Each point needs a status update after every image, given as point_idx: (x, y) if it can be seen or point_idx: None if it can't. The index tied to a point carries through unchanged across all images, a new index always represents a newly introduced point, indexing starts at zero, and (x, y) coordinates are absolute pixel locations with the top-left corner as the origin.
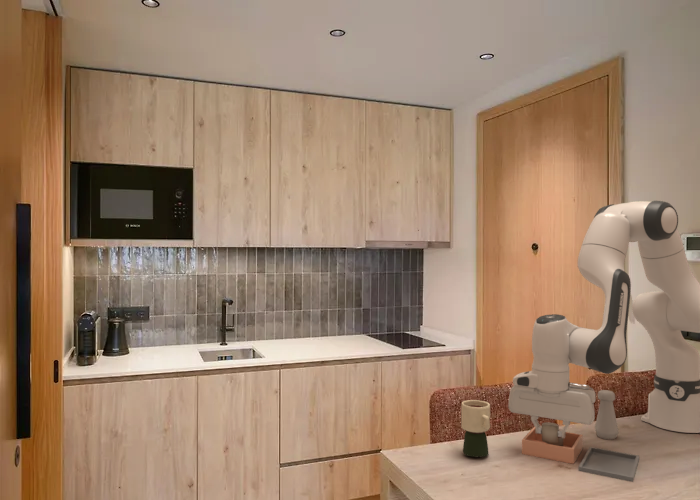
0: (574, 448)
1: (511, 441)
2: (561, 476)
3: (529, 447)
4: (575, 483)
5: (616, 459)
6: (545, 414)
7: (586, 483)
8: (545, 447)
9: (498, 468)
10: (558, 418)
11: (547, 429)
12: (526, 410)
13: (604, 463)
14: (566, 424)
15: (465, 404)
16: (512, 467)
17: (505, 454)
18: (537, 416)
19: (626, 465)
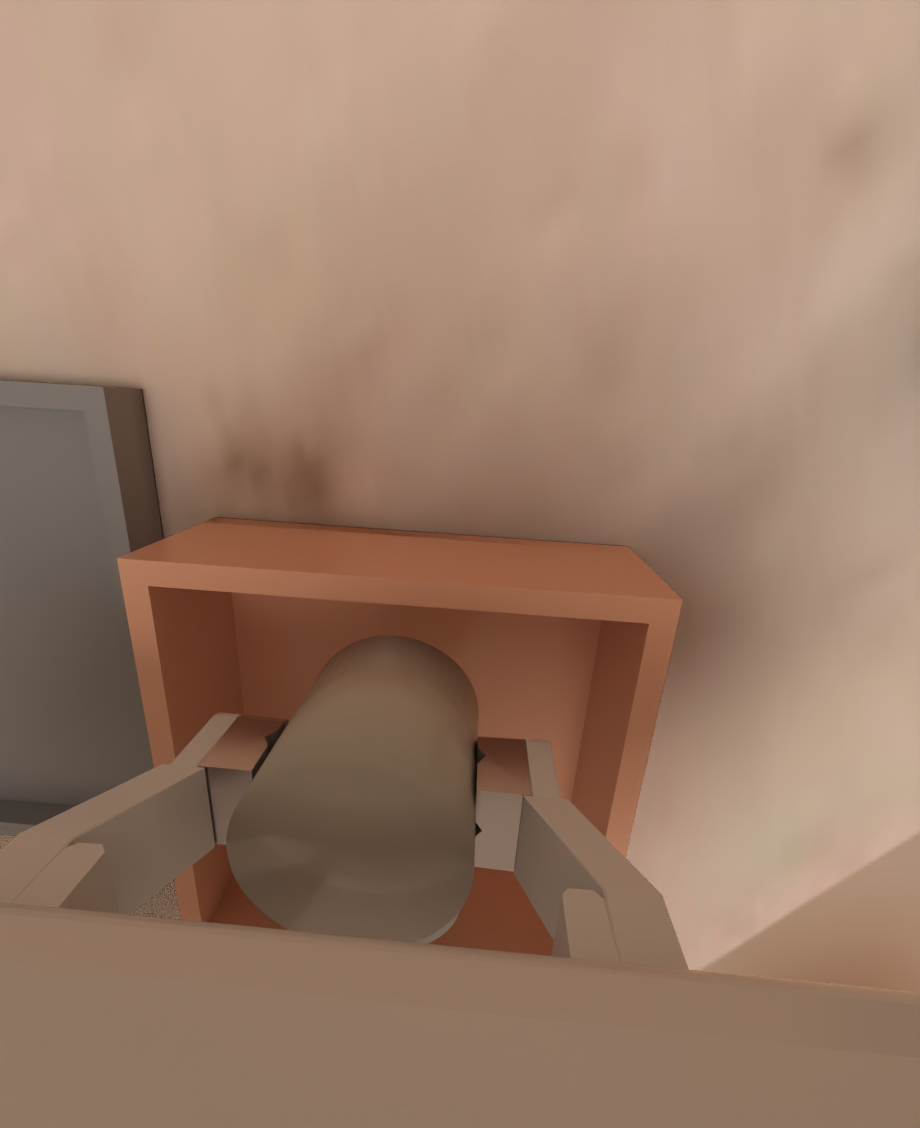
0: (126, 597)
1: (735, 803)
2: (233, 216)
3: (580, 570)
4: (81, 95)
5: (1, 744)
6: (342, 1019)
7: (10, 159)
8: (418, 568)
9: (832, 73)
10: (58, 933)
11: (372, 733)
12: (894, 1115)
13: (31, 638)
14: (33, 852)
15: None
16: (687, 197)
17: (771, 514)
18: (549, 957)
19: None
